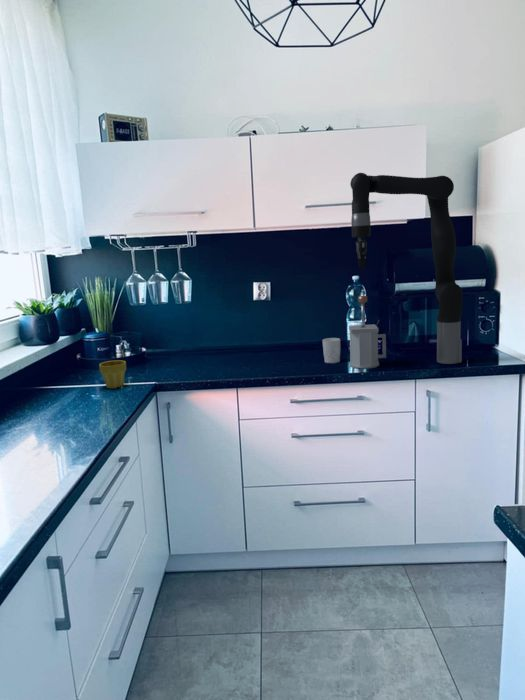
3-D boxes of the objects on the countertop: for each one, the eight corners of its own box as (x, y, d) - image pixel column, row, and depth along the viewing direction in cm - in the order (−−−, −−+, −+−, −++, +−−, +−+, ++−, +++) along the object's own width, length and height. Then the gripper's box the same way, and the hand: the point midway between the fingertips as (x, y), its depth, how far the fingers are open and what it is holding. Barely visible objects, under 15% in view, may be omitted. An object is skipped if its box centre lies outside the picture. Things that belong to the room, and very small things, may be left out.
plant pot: (118, 390, 215) (115, 366, 213) (96, 389, 219) (93, 365, 217) (133, 383, 225) (130, 360, 223) (112, 382, 228) (109, 359, 226)
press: (383, 361, 237) (383, 323, 234) (388, 367, 225) (387, 328, 222) (348, 362, 239) (347, 325, 235) (350, 369, 227) (349, 330, 223)
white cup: (344, 362, 241) (343, 339, 239) (328, 364, 238) (327, 341, 236) (335, 358, 248) (334, 337, 246) (320, 361, 245) (319, 339, 243)
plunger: (373, 332, 234) (372, 294, 231) (376, 336, 225) (375, 296, 222) (351, 333, 234) (350, 295, 231) (353, 337, 225) (352, 298, 222)
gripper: (372, 223, 214) (373, 268, 217) (368, 224, 228) (369, 266, 231) (353, 225, 214) (354, 269, 217) (350, 226, 228) (351, 267, 231)
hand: (361, 267), depth 224 cm, fingers open, 4 cm apart
